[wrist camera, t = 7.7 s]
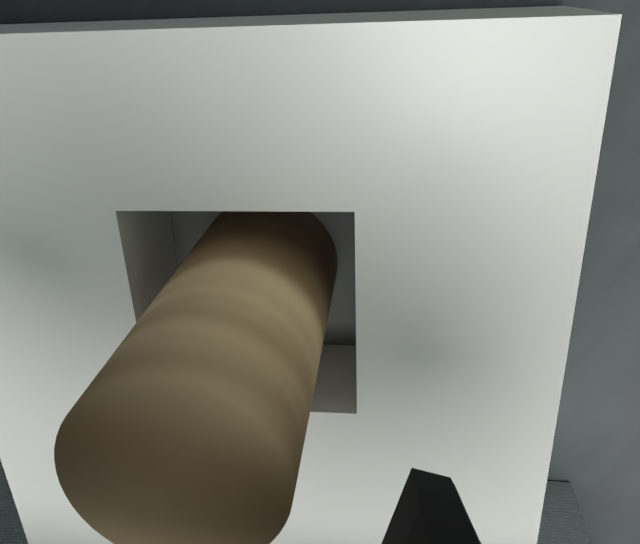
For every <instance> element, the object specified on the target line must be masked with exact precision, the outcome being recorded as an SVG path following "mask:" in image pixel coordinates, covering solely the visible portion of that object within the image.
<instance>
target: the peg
mask: <svg viewBox="0 0 640 544" xmlns="http://www.w3.org/2000/svg"><path fill="white" fill-rule="evenodd" d="M336 274H337V254H336V249H335V246H334V243H333V240H332V238H331V236H330V234H329V232H328V230H327V229H326V228H325V226H324V225H323V224H322V222H321V221H320V220H319V219H318V218H317V217H316V216H315V215H314V214H312V213H311V212H269V211H222V212H221V213H220V214H219V215H218V216H217V217H216V219H215V220H214V221H213V222H212V224H211V225H210V226H209V228H208V229H207V230H206V232H205V233H204V234H203V236H202V237H201V238H200V240H199V241H198V242H197V243H196V245H195V246H194V247H193V249H192V250H191V251H190V253H189V254H188V255H187V257H186V258H185V259H184V261H183V262H182V263H181V265H180V266H179V267H178V269H177V270H176V271H175V273H174V274H173V275H172V276H171V278H170V279H169V280H168V282H167V283H166V284H165V286H164V287H163V288H162V290H161V291H160V292H159V294H158V295H157V296H156V298H155V299H154V300H153V302H152V303H151V304H150V306H149V307H148V308H147V309H146V311H145V312H144V313H143V315H142V316H141V317H140V319H139V320H138V321H137V323H136V324H135V325H134V327H133V328H132V329H131V331H130V332H129V333H128V335H127V336H126V337H125V339H124V340H123V341H122V342H121V344H120V345H119V346H118V348H117V349H116V350H115V352H114V353H113V354H112V356H111V357H110V358H109V360H108V361H107V362H106V364H105V365H104V366H103V368H102V369H101V370H100V372H99V373H98V374H97V375H96V377H95V378H94V379H93V381H92V382H91V383H90V385H89V386H88V387H87V389H86V390H85V391H84V393H83V394H82V395H81V397H80V398H79V399H78V401H77V402H76V403H75V405H74V406H73V407H72V408H71V410H70V411H69V412H68V414H67V415H66V417H65V418H64V420H63V422H62V424H61V425H60V428H59V430H58V433H57V436H56V441H55V446H54V462H55V468H56V473H57V477H58V480H59V483H60V485H61V487H62V489H63V492H64V494H65V496H66V497H67V499H68V500H69V502H70V503H71V505H72V507H73V508H74V509H75V510H76V512H77V513H78V514H79V515H80V516H81V518H82V519H83V520H84V521H85V522H86V523H88V524H89V525H90V526H91V527H92V528H93V529H94V530H95V531H97V532H98V533H99V534H100V535H102V536H103V537H104V538H106V539H107V540H109V541H110V542H112V543H114V544H270V543H271V542H272V541H273V540H274V539H275V538H276V537H277V536H278V535H279V533H280V532H281V530H282V529H283V527H284V526H285V524H286V522H287V520H288V517H289V515H290V512H291V508H292V503H293V499H294V493H295V488H296V483H297V478H298V472H299V467H300V462H301V457H302V451H303V446H304V441H305V436H306V431H307V425H308V420H309V415H310V410H311V404H312V399H313V394H314V389H315V383H316V378H317V373H318V368H319V363H320V357H321V352H322V347H323V342H324V336H325V331H326V326H327V321H328V315H329V310H330V305H331V300H332V294H333V289H334V284H335V279H336Z"/></svg>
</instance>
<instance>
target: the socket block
mask: <svg viewBox="0 0 640 544" xmlns="http://www.w3.org/2000/svg"><path fill="white" fill-rule="evenodd" d="M621 17H622V14H616V13H609V12H602V11H595V10H589V9H582V8H575V7H569V6H539V7H509V8H479V9H449V10H419V11H389V12H359V13H329V14H299V15H269V16H239V17H209V18H179V19H149V20H119V21H89V22H59V23H29V24H0V459H1V462H2V465H3V468H4V471H5V474H6V477H7V480H8V483H9V486H10V489H11V492H12V495H13V498H14V502H15V505H16V508H17V511H18V514H19V517H20V520H21V523H22V526H23V529H24V532H25V535H26V538H27V541H28V544H114V543H112V542H110V541H109V540H107V539H106V538H104V537H103V536H102V535H100V534H99V533H98V532H97V531H95V530H94V529H93V528H92V527H91V526H90V525H89V524H88V523H86V522H85V521H84V520H83V519H82V518H81V516H80V515H79V514H78V513H77V512H76V510H75V509H74V508H73V507H72V505H71V503H70V502H69V500H68V499H67V497H66V496H65V494H64V492H63V489H62V487H61V485H60V483H59V480H58V477H57V473H56V468H55V462H54V446H55V441H56V436H57V433H58V430H59V428H60V425H61V424H62V422H63V420H64V418H65V417H66V415H67V414H68V412H69V411H70V410H71V408H72V407H73V406H74V405H75V403H76V402H77V401H78V399H79V398H80V397H81V395H82V394H83V393H84V391H85V390H86V389H87V387H88V386H89V385H90V383H91V382H92V381H93V379H94V378H95V377H96V375H97V374H98V373H99V372H100V370H101V369H102V368H103V366H104V365H105V364H106V362H107V361H108V360H109V358H110V357H111V356H112V354H113V353H114V352H115V350H116V349H117V348H118V346H119V345H120V344H121V342H122V341H123V340H124V339H125V337H126V336H127V335H128V333H129V332H130V331H131V329H132V328H133V327H134V325H135V324H136V323H137V321H138V320H139V319H140V317H141V316H142V315H143V313H144V312H145V311H146V309H147V308H148V307H149V306H150V304H151V303H152V302H153V300H154V299H155V298H156V296H157V295H158V294H159V292H160V291H161V290H162V288H163V287H164V286H165V284H166V283H167V282H168V280H169V279H170V278H171V276H172V275H173V274H174V273H175V271H176V270H177V269H178V267H179V266H180V265H181V263H182V262H183V261H184V259H185V258H186V257H187V255H188V254H189V253H190V251H191V250H192V249H193V247H194V246H195V245H196V243H197V242H198V241H199V240H200V238H201V237H202V236H203V234H204V233H205V232H206V230H207V229H208V228H209V226H210V225H211V224H212V222H213V221H214V220H215V219H216V217H217V216H218V215H219V214H220V213H221V212H222V211H269V212H311V213H312V214H314V215H315V216H316V217H317V218H318V219H319V220H320V221H321V222H322V224H323V225H324V226H325V228H326V229H327V230H328V232H329V234H330V236H331V238H332V240H333V243H334V246H335V249H336V254H337V274H336V279H335V284H334V289H333V294H332V300H331V305H330V310H329V315H328V321H327V326H326V331H325V336H324V342H323V347H322V352H321V357H320V363H319V368H318V373H317V378H316V383H315V389H314V394H313V399H312V404H311V410H310V415H309V420H308V425H307V431H306V436H305V441H304V446H303V451H302V457H301V462H300V467H299V472H298V478H297V483H296V488H295V493H294V499H293V503H292V508H291V512H290V515H289V517H288V520H287V522H286V524H285V526H284V527H283V529H282V530H281V532H280V533H279V535H278V536H277V537H276V538H275V539H274V540H273V541H272V542H271V543H270V544H381V543H382V541H383V538H384V536H385V533H386V531H387V528H388V526H389V523H390V521H391V518H392V516H393V513H394V511H395V508H396V506H397V503H398V501H399V498H400V496H401V493H402V491H403V488H404V486H405V483H406V481H407V478H408V475H409V473H410V470H411V468H415V469H419V470H423V471H427V472H431V473H435V474H439V475H443V476H446V477H450V478H451V479H452V481H453V483H454V484H455V487H456V489H457V491H458V493H459V496H460V498H461V500H462V502H463V505H464V507H465V509H466V511H467V514H468V516H469V518H470V520H471V523H472V525H473V527H474V529H475V531H476V534H477V536H478V538H479V540H480V542H481V544H537V540H538V534H539V527H540V521H541V515H542V509H543V503H544V496H545V490H546V484H547V478H548V471H549V465H550V459H551V453H552V447H553V440H554V434H555V428H556V422H557V415H558V409H559V403H560V397H561V391H562V384H563V378H564V372H565V366H566V359H567V353H568V347H569V341H570V334H571V328H572V322H573V316H574V310H575V303H576V297H577V291H578V285H579V278H580V272H581V266H582V260H583V254H584V247H585V241H586V235H587V229H588V222H589V216H590V210H591V204H592V198H593V191H594V185H595V179H596V173H597V166H598V160H599V154H600V148H601V142H602V135H603V129H604V123H605V117H606V110H607V104H608V98H609V92H610V86H611V79H612V73H613V67H614V61H615V54H616V48H617V42H618V36H619V30H620V23H621Z"/></svg>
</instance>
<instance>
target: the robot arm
mask: <svg viewBox="0 0 640 544" xmlns="http://www.w3.org/2000/svg"><path fill="white" fill-rule="evenodd" d="M381 544H481V542H480V540H479V538H478V536H477V534H476V531H475V529H474V527H473V525H472V523H471V520H470V518H469V516H468V514H467V511H466V509H465V507H464V505H463V502H462V500H461V498H460V496H459V493H458V491H457V489H456V487H455V484H454V483H453V481H452V479H451V478H450V477H446V476H443V475H439V474H435V473H431V472H427V471H423V470H419V469H415V468H411V470H410V473H409V475H408V478H407V481H406V483H405V486H404V488H403V491H402V493H401V496H400V498H399V501H398V503H397V506H396V508H395V511H394V513H393V516H392V518H391V521H390V523H389V526H388V528H387V531H386V533H385V536H384V538H383V541H382V543H381Z"/></svg>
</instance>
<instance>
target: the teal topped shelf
mask: <svg viewBox="0 0 640 544" xmlns="http://www.w3.org/2000/svg"><path fill="white" fill-rule="evenodd" d="M0 544H28V541H27V538H26V535H25V532H24V529H23V526H22V523H21V520H20V517H19V514H18V511H17V508H16V505H15V502H14V498H13V495H12V492H11V491H10V493H9V494H8V495H7V497H6V498H5V499H4V501H3V502H2V503H1V505H0ZM537 544H591V542H590V539H589V536H588V533H587V530H586V527H585V524H584V521H583V519H582V516H581V513H580V510H579V507H578V504H577V501H576V498H575V495H574V493H573V490H572V487H571V484H570V482H558V481H547V484H546V490H545V496H544V503H543V509H542V515H541V521H540V527H539V534H538V540H537Z"/></svg>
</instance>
